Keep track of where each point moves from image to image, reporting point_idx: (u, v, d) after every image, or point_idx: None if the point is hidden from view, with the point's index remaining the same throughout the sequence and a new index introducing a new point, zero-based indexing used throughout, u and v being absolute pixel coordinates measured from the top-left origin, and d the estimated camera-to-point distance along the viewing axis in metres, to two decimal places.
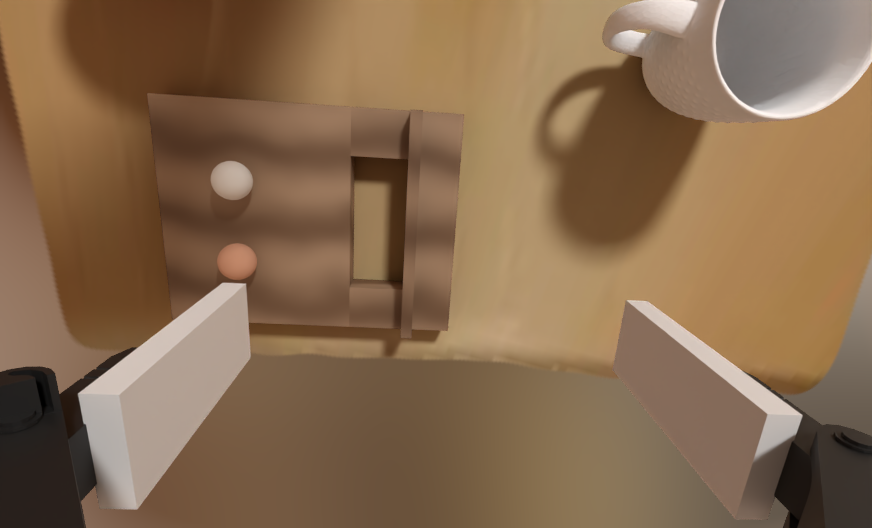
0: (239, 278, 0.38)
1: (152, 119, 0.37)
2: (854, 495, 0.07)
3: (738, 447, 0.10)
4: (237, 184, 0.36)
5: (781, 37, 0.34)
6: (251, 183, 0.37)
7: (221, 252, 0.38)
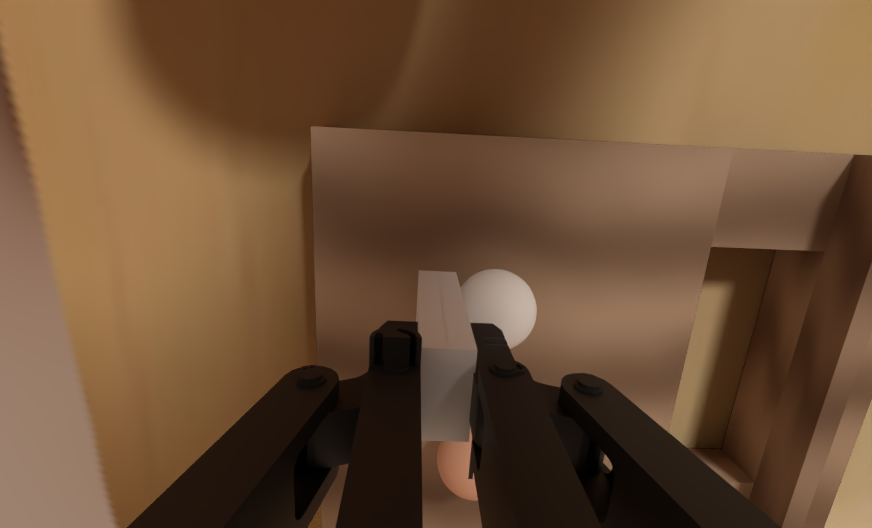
0: None
1: (318, 182, 0.17)
2: (512, 418, 0.09)
3: None
4: (529, 325, 0.16)
5: None
6: None
7: (454, 451, 0.18)
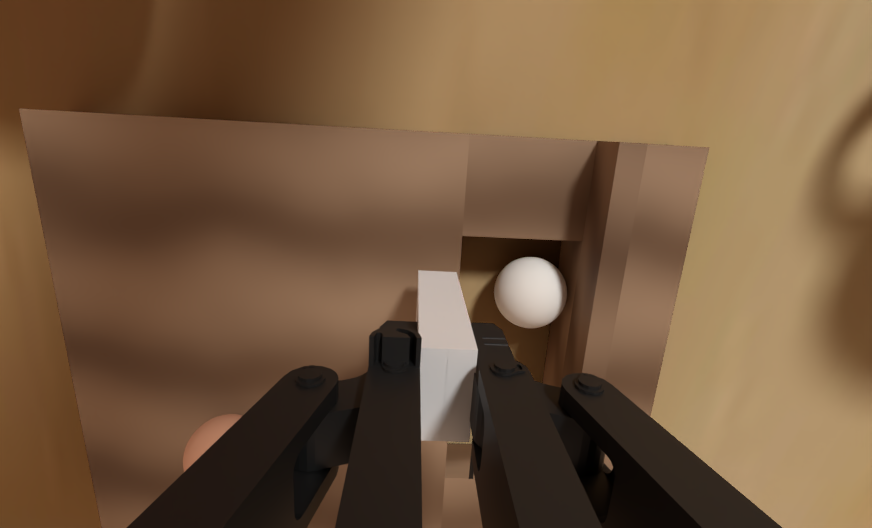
0: None
1: (36, 167, 0.17)
2: (512, 418, 0.09)
3: None
4: None
5: None
6: None
7: (191, 446, 0.18)
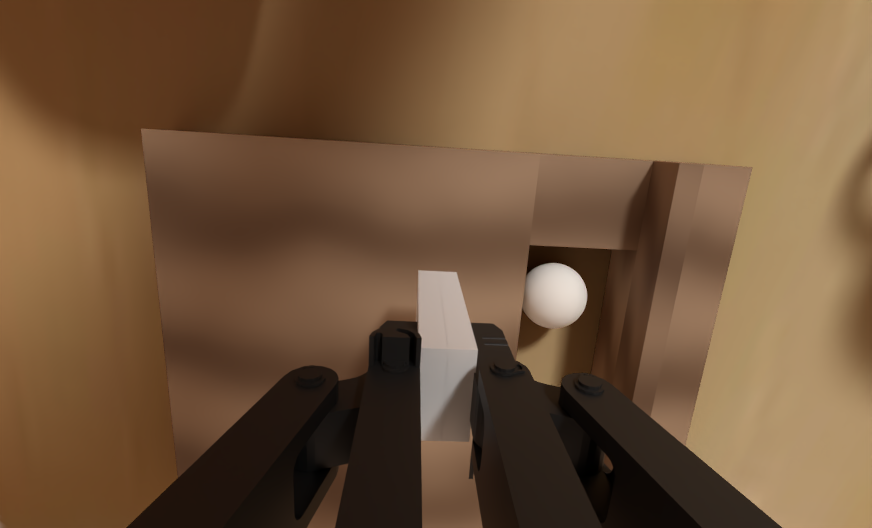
0: None
1: (152, 180, 0.19)
2: (512, 418, 0.09)
3: None
4: (584, 305, 0.21)
5: None
6: None
7: None
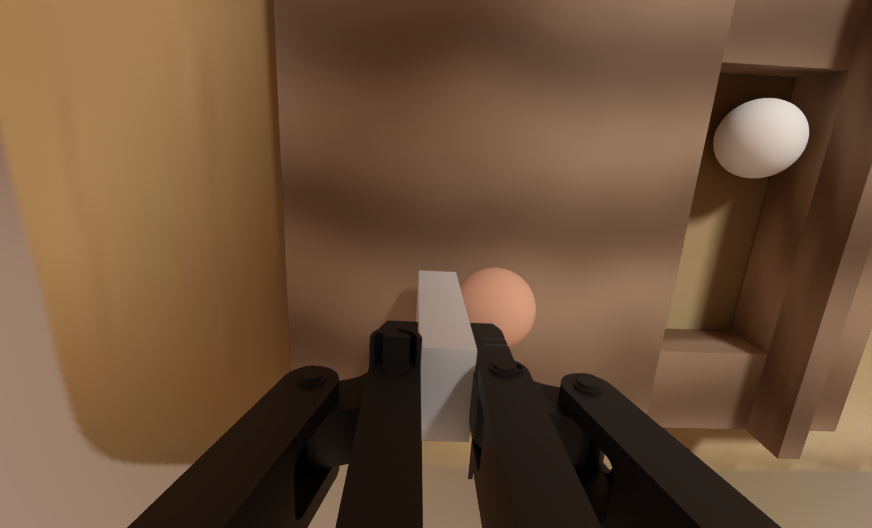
0: None
1: None
2: (512, 418, 0.09)
3: None
4: None
5: None
6: None
7: (500, 296, 0.16)
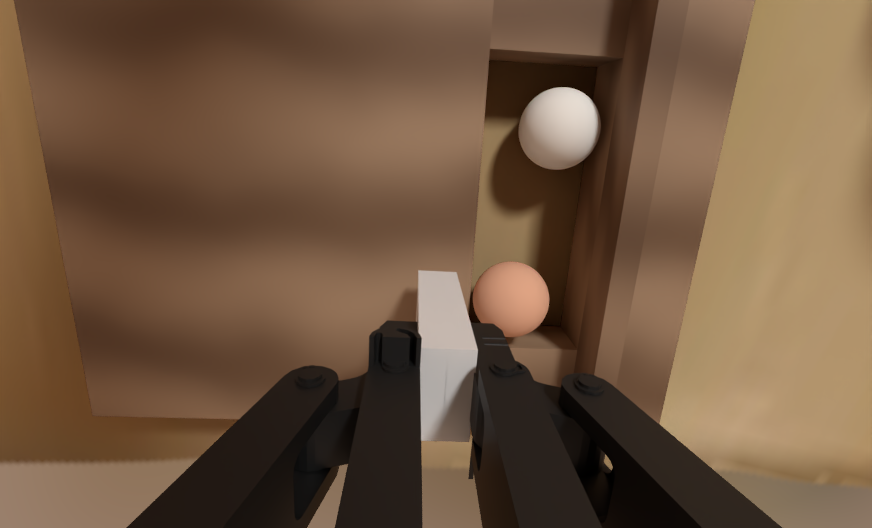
0: (522, 334, 0.18)
1: None
2: (512, 418, 0.09)
3: None
4: None
5: None
6: None
7: (492, 283, 0.18)
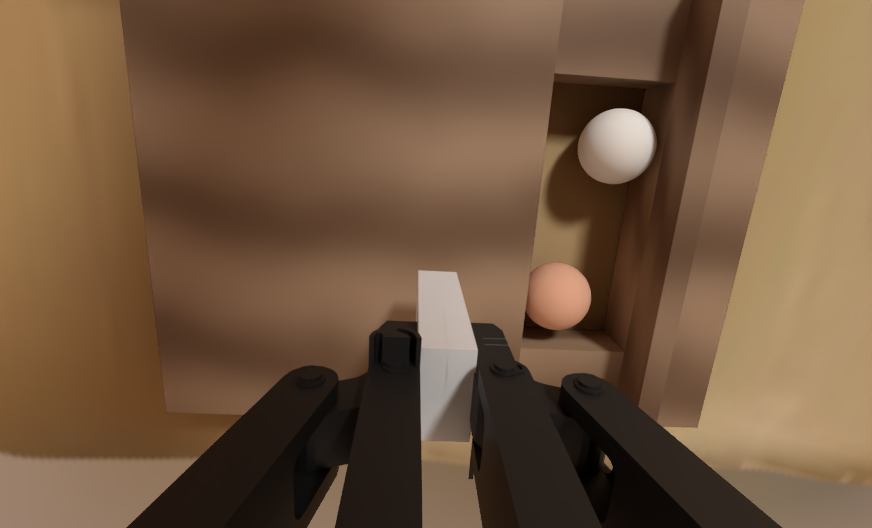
0: (570, 326, 0.21)
1: None
2: (512, 418, 0.09)
3: None
4: None
5: None
6: None
7: (547, 282, 0.20)
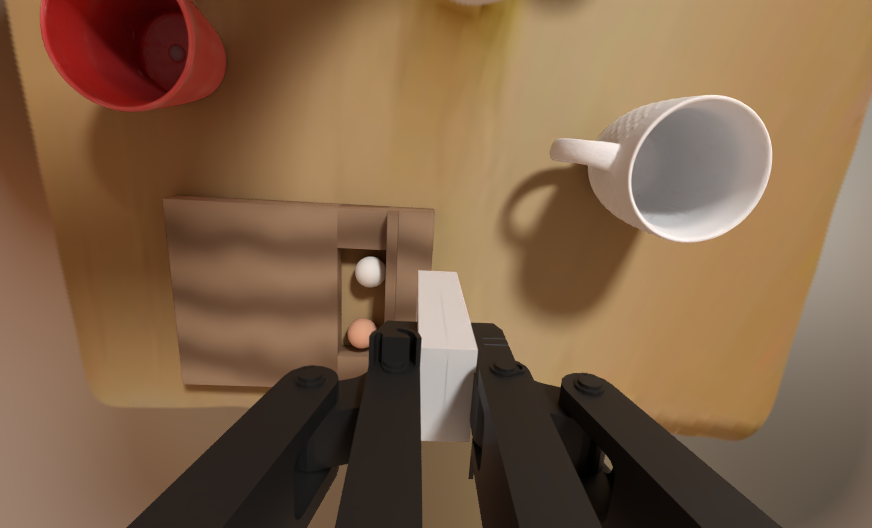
0: None
1: (167, 220, 0.43)
2: (512, 418, 0.09)
3: None
4: None
5: (701, 156, 0.40)
6: None
7: (359, 330, 0.47)
